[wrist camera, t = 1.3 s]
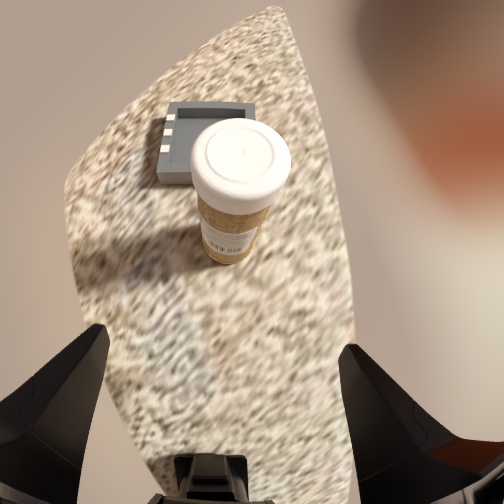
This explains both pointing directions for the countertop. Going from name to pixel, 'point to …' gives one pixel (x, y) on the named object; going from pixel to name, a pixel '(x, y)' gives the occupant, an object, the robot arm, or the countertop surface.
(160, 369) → the countertop surface
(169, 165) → the dish
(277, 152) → the sprinkles bottle
